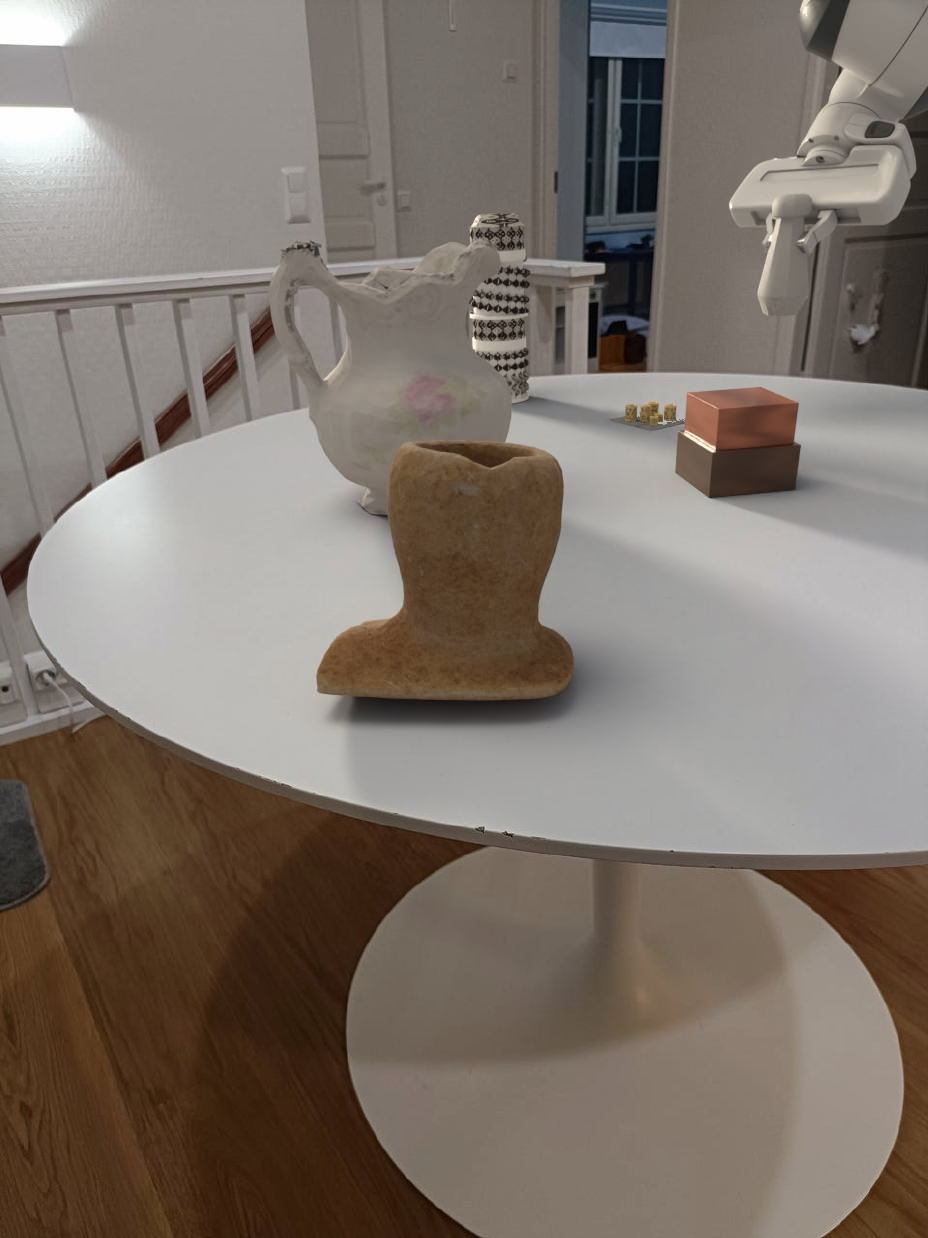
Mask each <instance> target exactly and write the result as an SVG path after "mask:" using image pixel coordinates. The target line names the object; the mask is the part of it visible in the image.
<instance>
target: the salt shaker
mask: <svg viewBox="0 0 928 1238" xmlns="http://www.w3.org/2000/svg"><path fill="white" fill-rule="evenodd" d="M811 209H812V198H811V197H810V196H809V195H807V194H786V195H781V196H778V197H776V198H775V199H774V201H773V205H772V215H773V216H774V217H776V218H777V220H776V223H775V227H774V231H773V235H772V239H771V245H770V247H769V250H768V253H766V254H767V255H766V258H765V263H764V266H763V269H762V274H761V277H760V281H759V285H758V288H757V291H756V292H757V299H758V302H759V305H760V308H761V311H762V313H763V315H766V316H772V317H774V316H775V317H786V316H797V315H799V313H800V311H801V309H802V308H803V306H804V304H805V302H806V301H807V299H808V298H809V295H810V283H809V282H810V281H809V268H808V255H807V254H808V253H802V252H801V251H800V249H799V248H798V247H797V246H796V241H797V240H798V239H799V237H800V236H801V234H802V233H803V232H805V231H806V226H805V224H804V217H805V216H807V215H809V214H810V213H811Z"/></svg>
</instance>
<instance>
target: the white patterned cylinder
mask: <svg viewBox="0 0 928 1238" xmlns="http://www.w3.org/2000/svg"><path fill="white" fill-rule="evenodd" d="M525 226H526V224H524V223H523V221H522V220H521V217H520V216H519V215H518V214H517V213H515V212H502V213H501V212H499V213H482V214H478V215H476V217H475V218H474V220H473V222H472V225H470V226H469V227H467V228H468V229H469V241H470V243H469V245H470V244H471V243H473V242H475V241H476V240H478V239H479V238H482V240H483V241H487V242H489V243H492V244H496V245H497V252H498V253H499V255H500V261H501V269H500V271H499V272H498V274H496V275H493V276H491V277H490V278H488V279H487V280H485V281H483V282H482V283H480V285H479V286H478V288H477V289H476V290H475V292H474V294H473V296H472V298H471V300H470V302H469V306H471V307H472V310H470V311H469V312H468V314H469V319H472V332H473V337H472V338H471V339H472V348H473V350H474V351H475V352H476V353H477V354H478V355H479V356H480V357H481V358H483V359H484V360H486V361H487V362H488V363H489V364H490V365H491V366H492V367H493V368H494V369H496V370H497V371H498V372H499V373H500V374H501V375H502V376H503V377H504V378H505V379H506V381H507V384H508V386H509V389H510V391H511V397H512V404H518V403H522V402H526V401H527V400H529V397H530V396H529V393H528V392H527V391H529V389H530V384H529V383H528V380H529V379H530V373H529V371H528V370H526V367H528V366H529V365H530V363H529V359H527V358H525V357H527V356H528V355H529V353H530V351H529V349H528V348H527V335H526V321H525V320H526V319H525V318H526V317H528V316H529V313H530V309H528V308H527V307H526V304H528V303H529V302H530V298H529V296H527V295H526V294H525V293H524V292H525V291H526V290H527V289H528V288H530V286H531V282H529V281H528V280H527V279H526V278H528V277H529V276H530V275H531V271H530V270H529V269H528V268H526V267H524V263H525V262H527V260H528V257H527V256H526V248H525ZM499 246H500V247H499ZM524 279H525V280H524Z"/></svg>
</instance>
